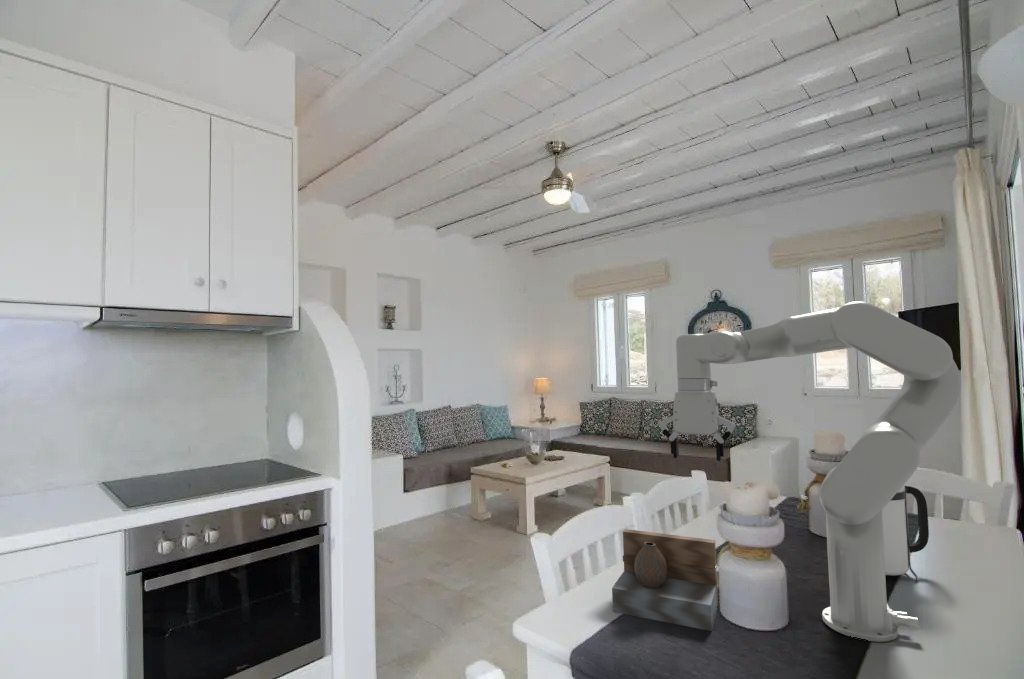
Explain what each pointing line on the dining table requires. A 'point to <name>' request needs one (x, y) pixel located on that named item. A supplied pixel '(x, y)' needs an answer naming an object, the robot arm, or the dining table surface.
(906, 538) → the coffee press
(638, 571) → the vase
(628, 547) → the wall shelf
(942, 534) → the dining table surface
